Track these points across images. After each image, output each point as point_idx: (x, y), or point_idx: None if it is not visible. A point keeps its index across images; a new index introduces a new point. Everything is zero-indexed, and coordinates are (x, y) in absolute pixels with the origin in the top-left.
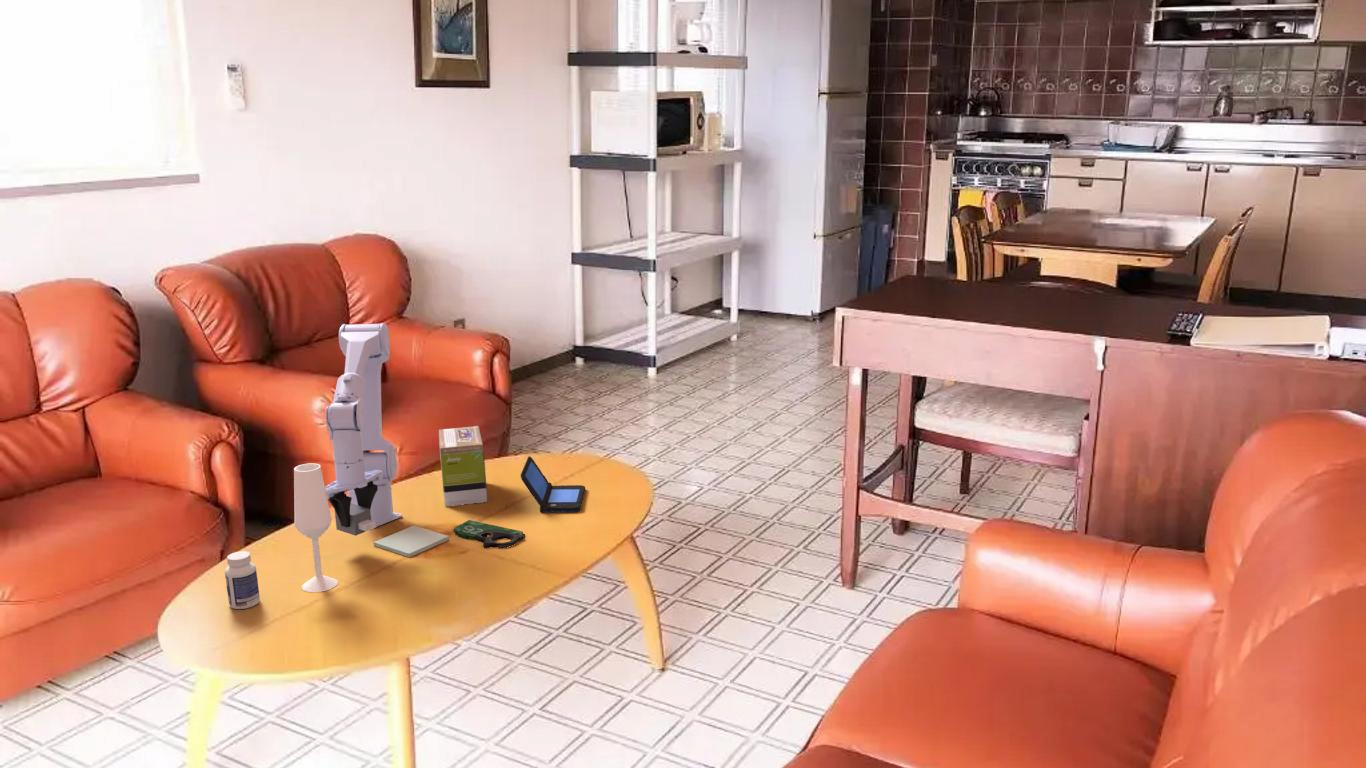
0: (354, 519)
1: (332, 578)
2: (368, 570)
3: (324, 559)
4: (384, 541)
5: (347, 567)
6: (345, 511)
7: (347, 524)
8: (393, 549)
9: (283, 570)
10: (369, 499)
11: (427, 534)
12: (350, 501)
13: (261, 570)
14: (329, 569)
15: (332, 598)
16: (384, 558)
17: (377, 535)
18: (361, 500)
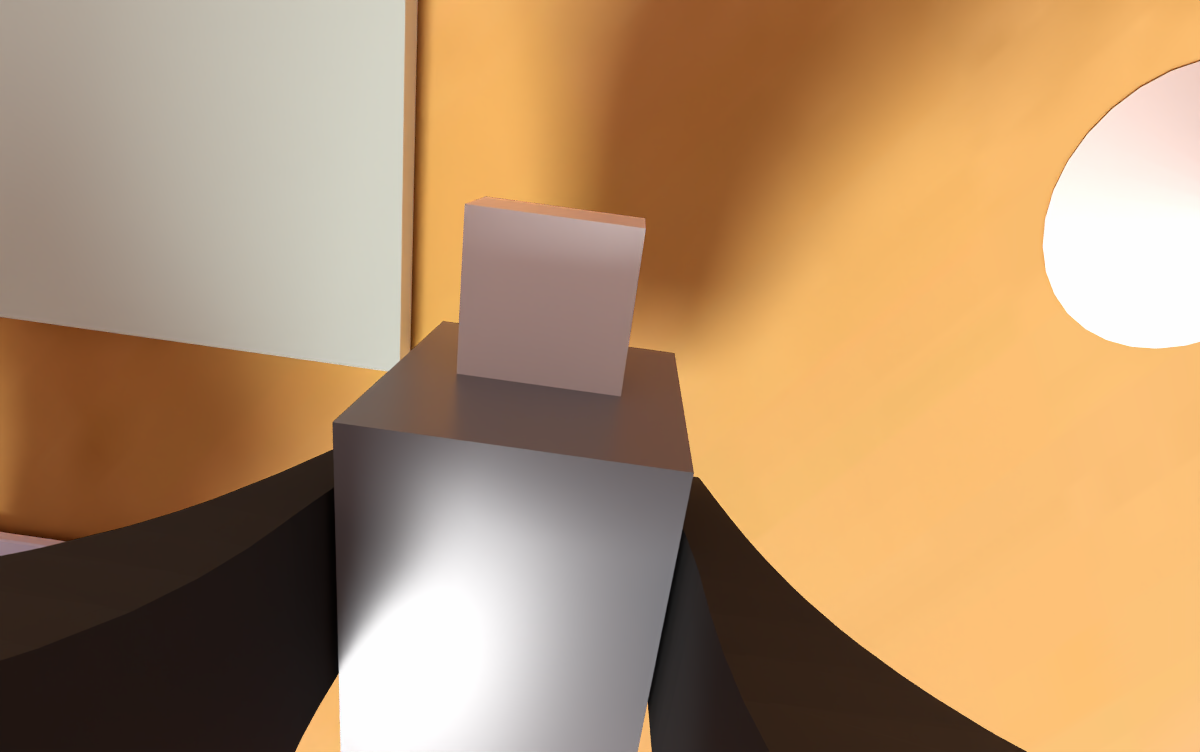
0: (680, 436)
1: (1115, 169)
2: (810, 36)
3: (758, 505)
4: (342, 301)
5: (819, 256)
6: (815, 609)
7: (708, 494)
8: (405, 119)
9: (1006, 612)
10: (191, 555)
11: (9, 54)
12: (762, 714)
13: (1041, 716)
14: (898, 356)
15: None
16: (548, 98)
17: (268, 464)
18: (272, 689)
